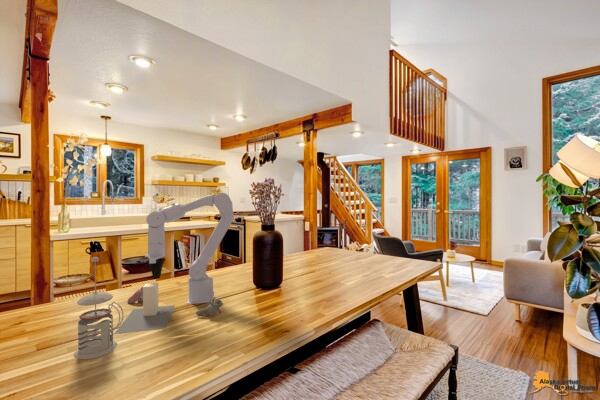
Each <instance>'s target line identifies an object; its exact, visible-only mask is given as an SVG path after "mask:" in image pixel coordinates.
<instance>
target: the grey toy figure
mask: <svg viewBox="0 0 600 400" xmlns="http://www.w3.org/2000/svg"><path fill="white" fill-rule="evenodd" d="M213 302H214V303H213ZM213 302H211V301H210V302H209V304H208V305H206V306H207V307H205V308H201V309H199V310H195V314H196V316H197V317H200V316H201V317H202V316H203V315H206V314H208V318H209V319H210V317H211V315H213V314H214V313H215V312H217V311H218V312H219V313H222V310H221V309H220V307H223V305H224V303H223V302H222V300H221V299H219V298H213Z"/></svg>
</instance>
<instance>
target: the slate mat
mask: <svg viewBox="0 0 600 400" xmlns="http://www.w3.org/2000/svg"><path fill="white" fill-rule="evenodd" d="M175 307H176V304H175V305H165V306H164V305H163V306H158V312H157V314H156V315H150V316H143V307H142V308H133V309H132V310H131V312H130V313H129V315H127V316H126V318H125V320H124V321H122V323H121V324H120V325H119V326H118V327H117V330H116V331H115V333H114V332H113V335H117V334H126V333H135V332H136V333H137V332H144V331H153V330H154V331H155V330H163V329H164V330H165V329H166V327H167V326H168V323H169V320H170V319H171V317H172V314H173V312H174V309H175Z"/></svg>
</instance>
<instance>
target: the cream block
mask: <svg viewBox="0 0 600 400" xmlns="http://www.w3.org/2000/svg"><path fill="white" fill-rule="evenodd" d="M142 287H143V300H142V308H143V316H150V315H156V314H157V312H158V307H159V282H149V283H145V284H144V285H143V286H142Z"/></svg>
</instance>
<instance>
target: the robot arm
mask: <svg viewBox="0 0 600 400" xmlns="http://www.w3.org/2000/svg"><path fill="white" fill-rule="evenodd" d="M214 206H215V208H216V209H217V211H219V212H218V213H219V216H220V219H219V221H218V223H217V224H216V226H215V228H214V229H213V231H212V234H211V235H210V237H209V238H208V240H207V242H206V243H205V245H204V247H203V249H202V251H201V252H200V253H199V256H198V257H197V258H196V259H195V260H193V261H192V263H191V264H190V267H189V269H188V275H189V276H188V298H187V302H186V305H194V304H205V303H210V301H211V302H212V303H213V302H214V296H215V294H214V293H215V291H214V277H209V275H208V274H207V269H208V267H209V263H210V261H211V260H212V259H213V256H214V254H215V253H216V250H218V247H219V246H220V244H221V242H222V240H223V238H224V237H225V235H226V233H227V231H228V230H229V228H230V226H231V224H232V223H233V221H234V210H233V209H234V207H233V202H232V199H231V197H230V195H228V194H227V193H225V192H219V193H217V194H215V193H214V194H211V195H204V196H202V197H200V198H197V199H195V200H193V201H190V202H187V203H185V204H181V203H176V202H174V203H171V204H170V205H169V206H166V207H164V208H162V207H160V208H158V211H157V210H155V211H151V212H150V213H149V214H148V215H147V217H146V223H147V226H148V228H147V229H148V231H147V244H148V245H147V252H148V253H146V254H145V255H144V258H148V260H147V265H148V266H149V269H150V271H151V275H152V278H153V280H158V279H160V278H161V275H162V270H163V266H164V263H165V261H166V258H165V257H166V240H165V239H166V236H165V235H166V234H165V233H166V232H165V231H166V230H165V224H166V223H170V222H174V221H176V220H179V219H181V218H184V217H185V216H186V213H187V212H191V211H193V210H197V209H200V208H202V207H214Z"/></svg>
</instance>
